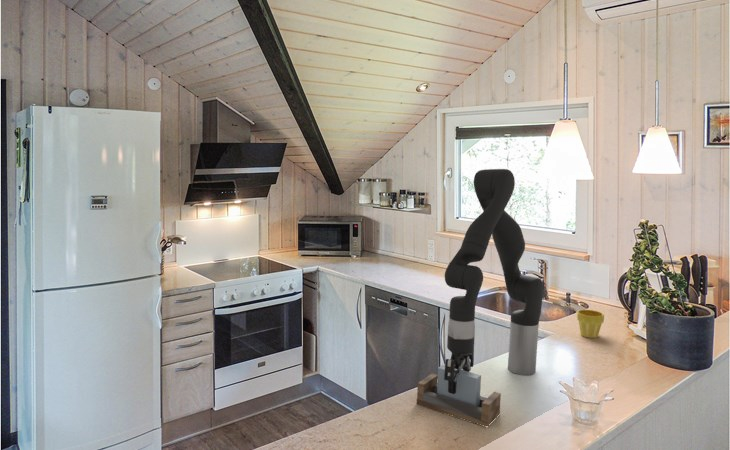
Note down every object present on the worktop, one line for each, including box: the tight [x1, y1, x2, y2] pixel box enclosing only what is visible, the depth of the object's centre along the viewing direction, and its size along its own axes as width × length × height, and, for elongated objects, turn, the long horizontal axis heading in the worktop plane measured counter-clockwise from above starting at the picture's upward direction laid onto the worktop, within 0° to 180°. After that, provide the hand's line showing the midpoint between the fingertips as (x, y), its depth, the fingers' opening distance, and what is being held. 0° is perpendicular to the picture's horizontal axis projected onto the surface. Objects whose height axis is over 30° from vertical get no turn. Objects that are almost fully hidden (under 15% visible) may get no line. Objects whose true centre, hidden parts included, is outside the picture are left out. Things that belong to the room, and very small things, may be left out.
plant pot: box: [576, 309, 605, 339], centre depth 217 cm, size 10×10×10 cm
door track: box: [416, 373, 502, 427], centre depth 150 cm, size 9×22×6 cm, turn 54°
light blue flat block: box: [437, 364, 482, 407], centre depth 150 cm, size 3×12×10 cm, turn 55°
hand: (458, 387), depth 150 cm, fingers open, 8 cm apart
